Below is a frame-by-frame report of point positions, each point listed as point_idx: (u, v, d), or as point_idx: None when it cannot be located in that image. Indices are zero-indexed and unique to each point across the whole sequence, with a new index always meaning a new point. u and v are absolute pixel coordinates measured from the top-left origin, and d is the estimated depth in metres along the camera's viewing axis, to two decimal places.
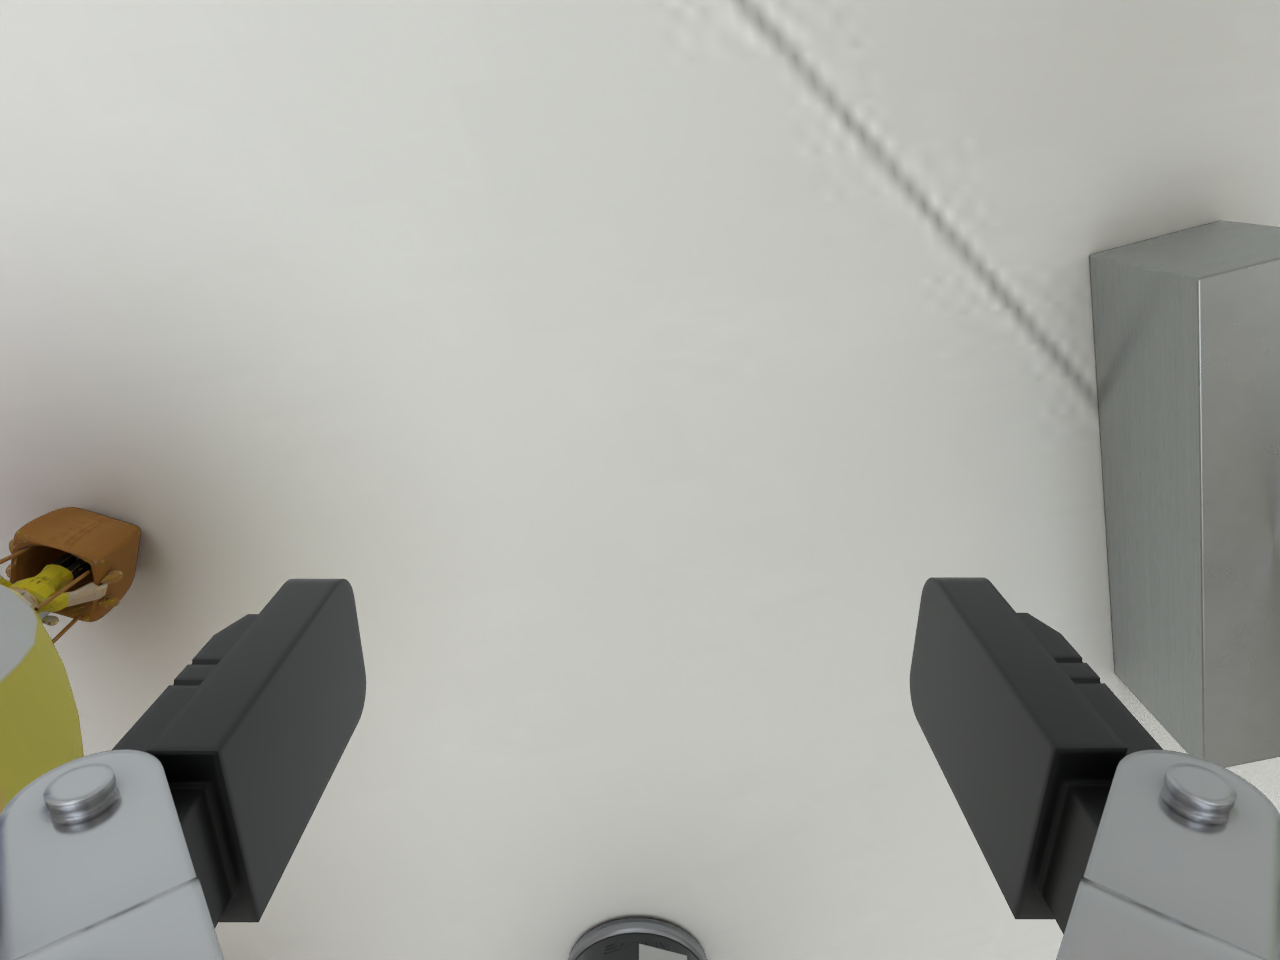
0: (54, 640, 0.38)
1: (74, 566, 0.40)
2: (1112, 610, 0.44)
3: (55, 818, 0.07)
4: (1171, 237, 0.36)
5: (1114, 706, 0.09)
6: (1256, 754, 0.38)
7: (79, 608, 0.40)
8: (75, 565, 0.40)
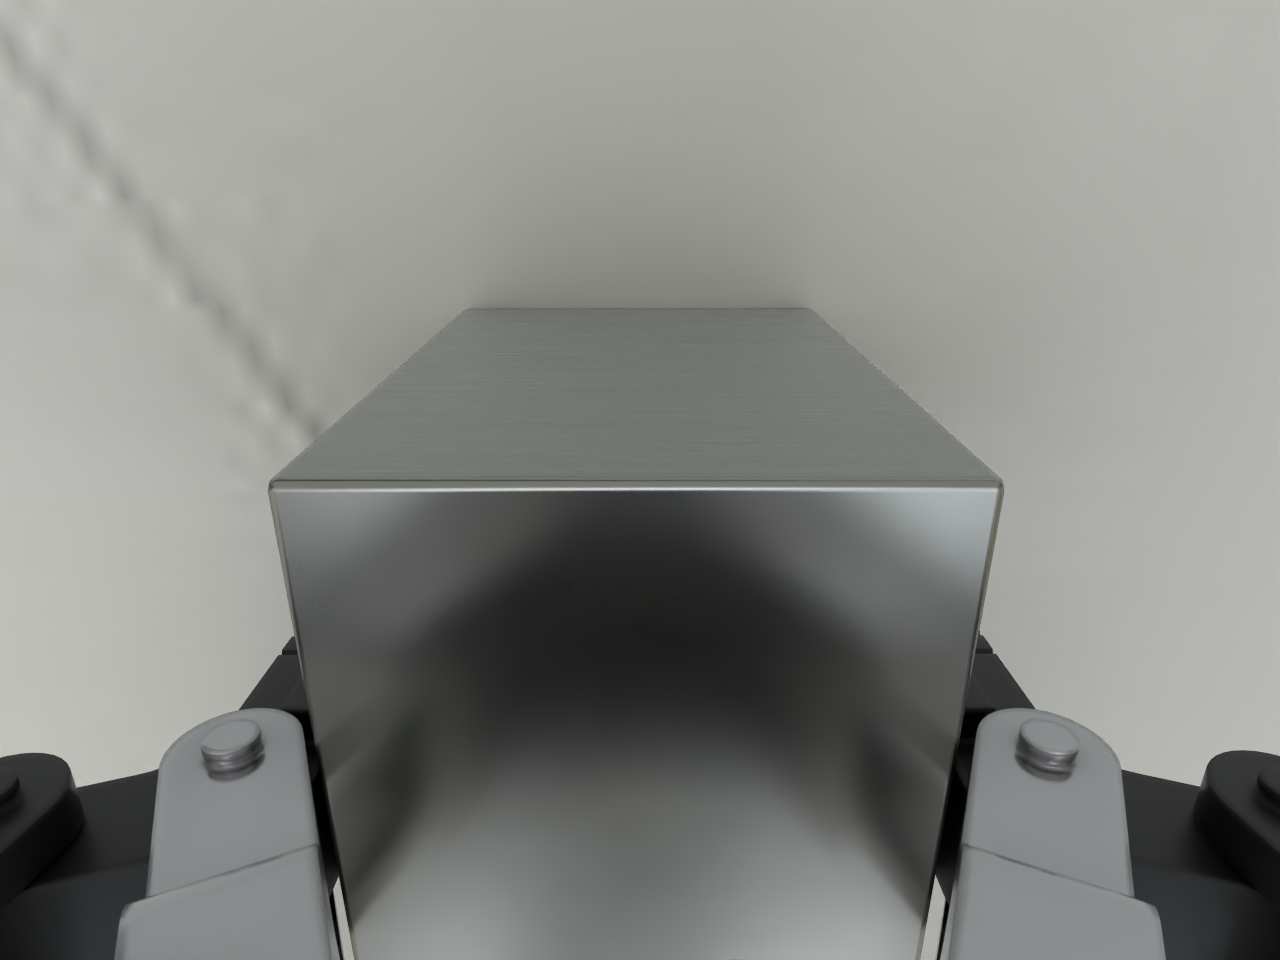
0: None
1: None
2: None
3: (212, 766, 0.07)
4: None
5: (1000, 674, 0.09)
6: (705, 535, 0.07)
7: None
8: None
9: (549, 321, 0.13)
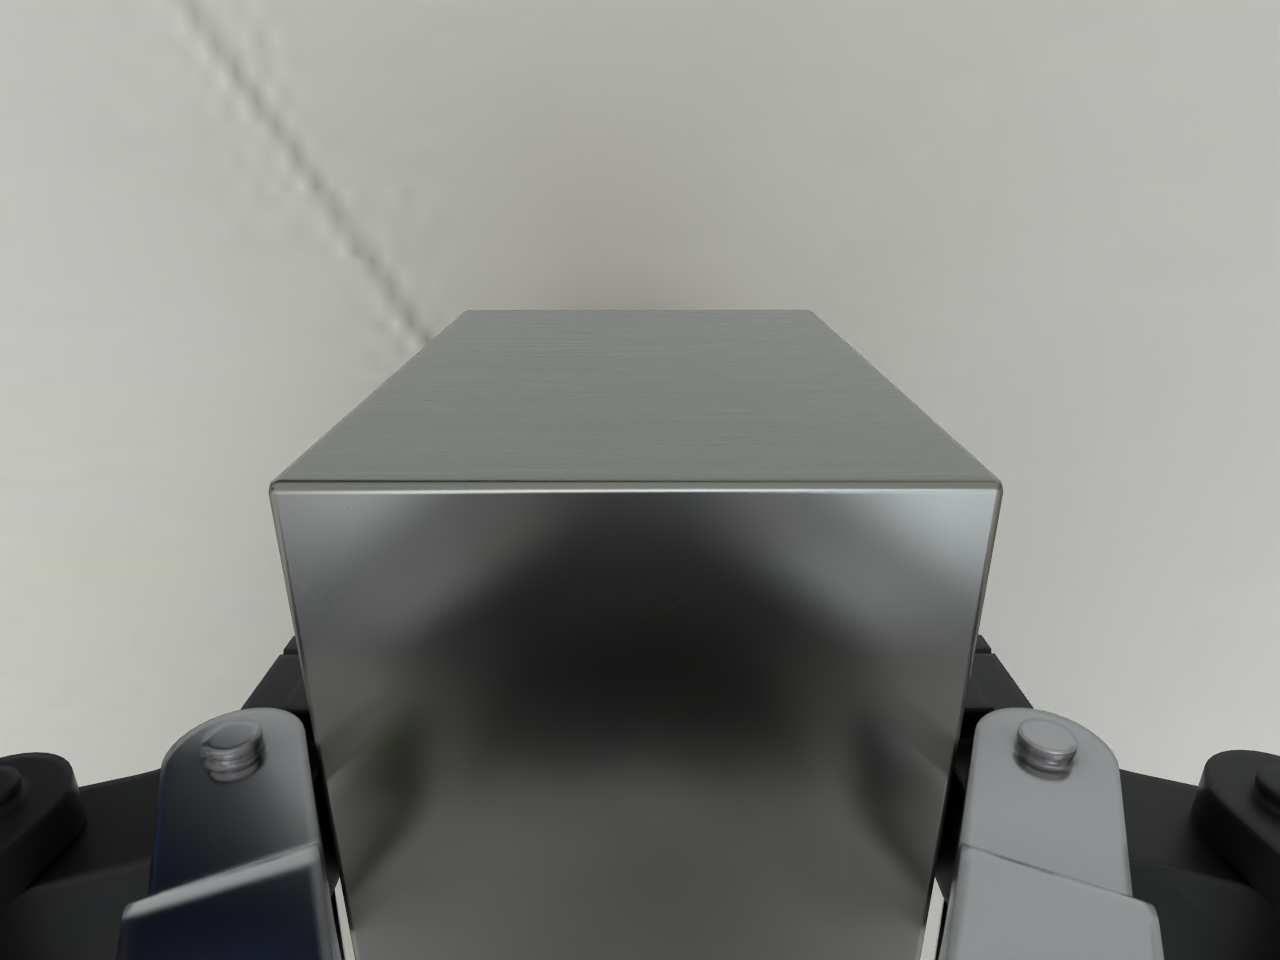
0: None
1: None
2: None
3: (214, 766, 0.07)
4: None
5: (998, 674, 0.09)
6: (703, 536, 0.07)
7: None
8: None
9: (549, 322, 0.13)
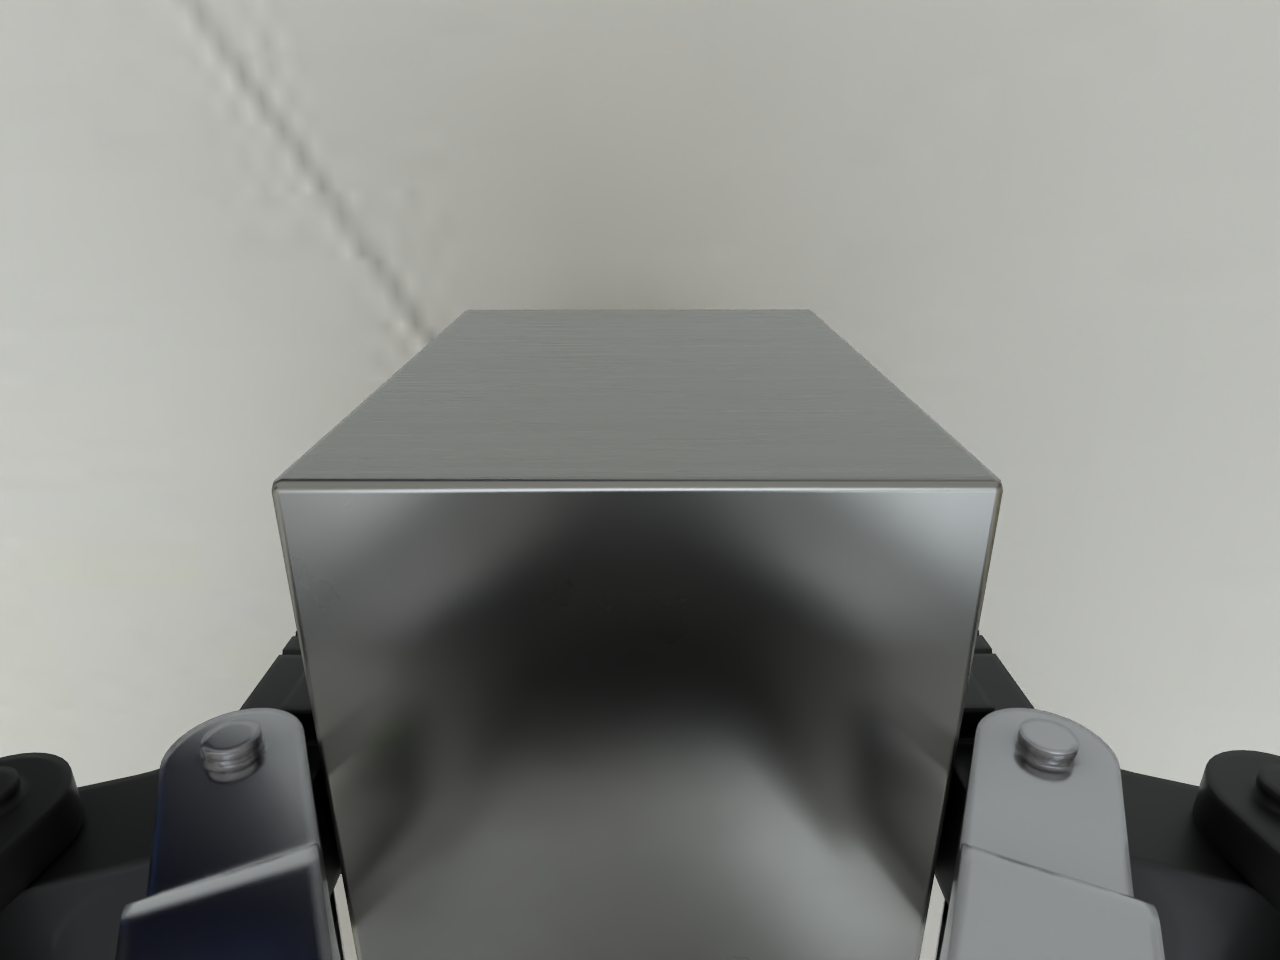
0: None
1: None
2: None
3: (213, 766, 0.07)
4: None
5: (999, 674, 0.09)
6: (705, 534, 0.07)
7: None
8: None
9: (550, 322, 0.13)
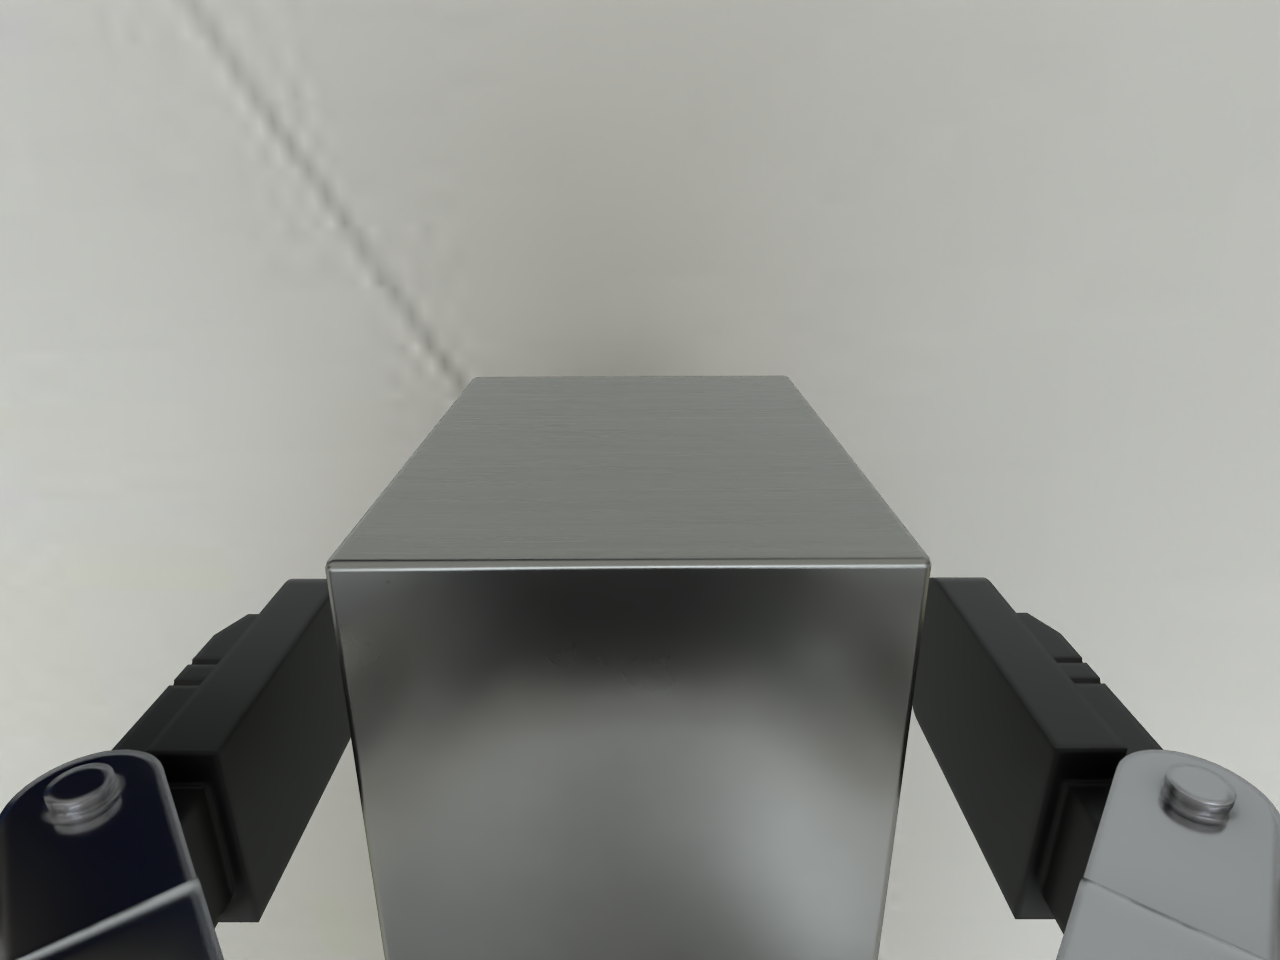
0: None
1: None
2: None
3: (55, 818, 0.07)
4: None
5: (1114, 706, 0.09)
6: (685, 603, 0.08)
7: None
8: None
9: (551, 391, 0.14)
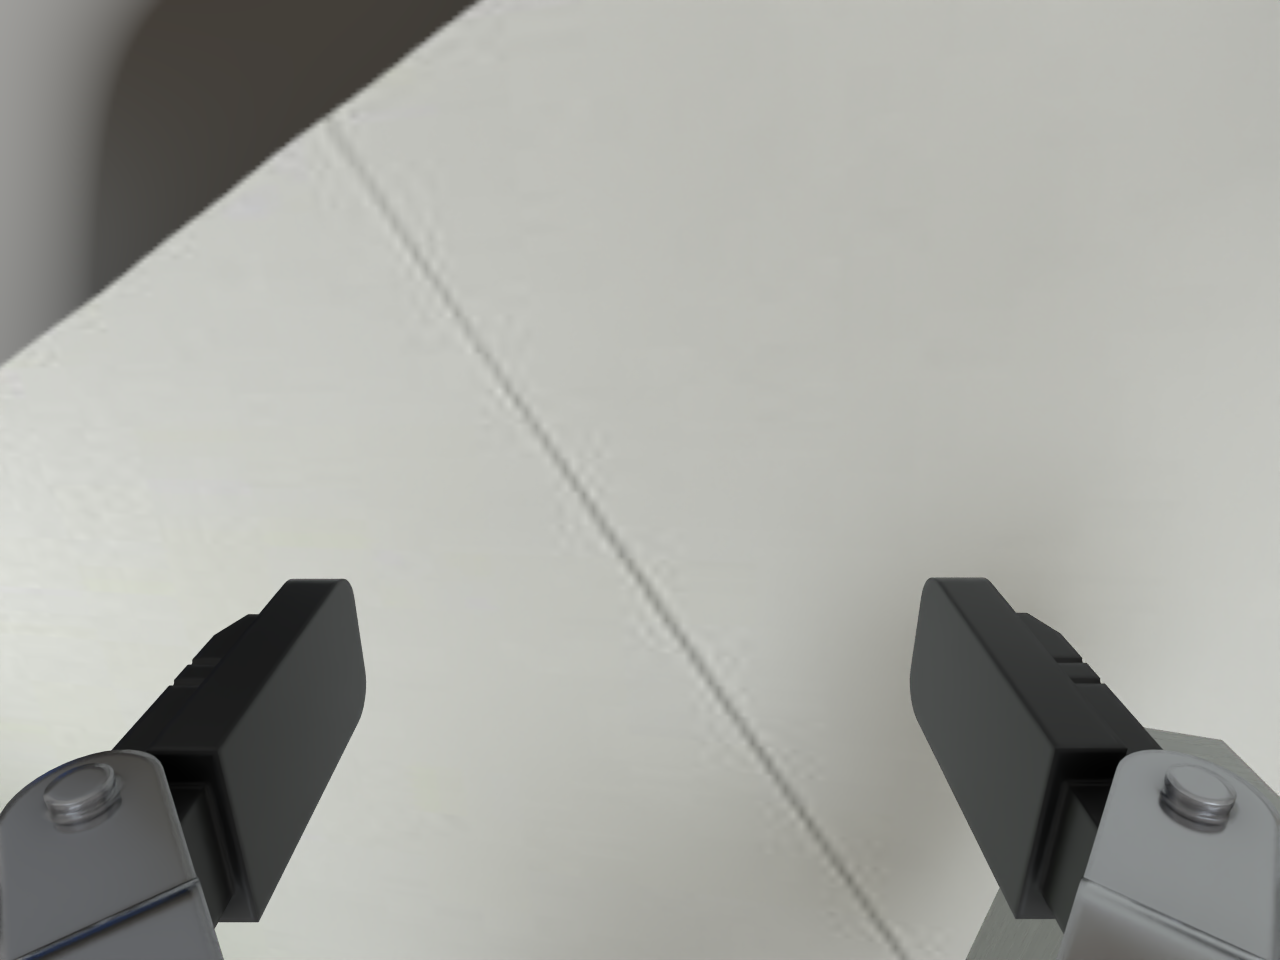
0: None
1: None
2: None
3: (55, 818, 0.07)
4: None
5: (1114, 706, 0.09)
6: None
7: None
8: None
9: None
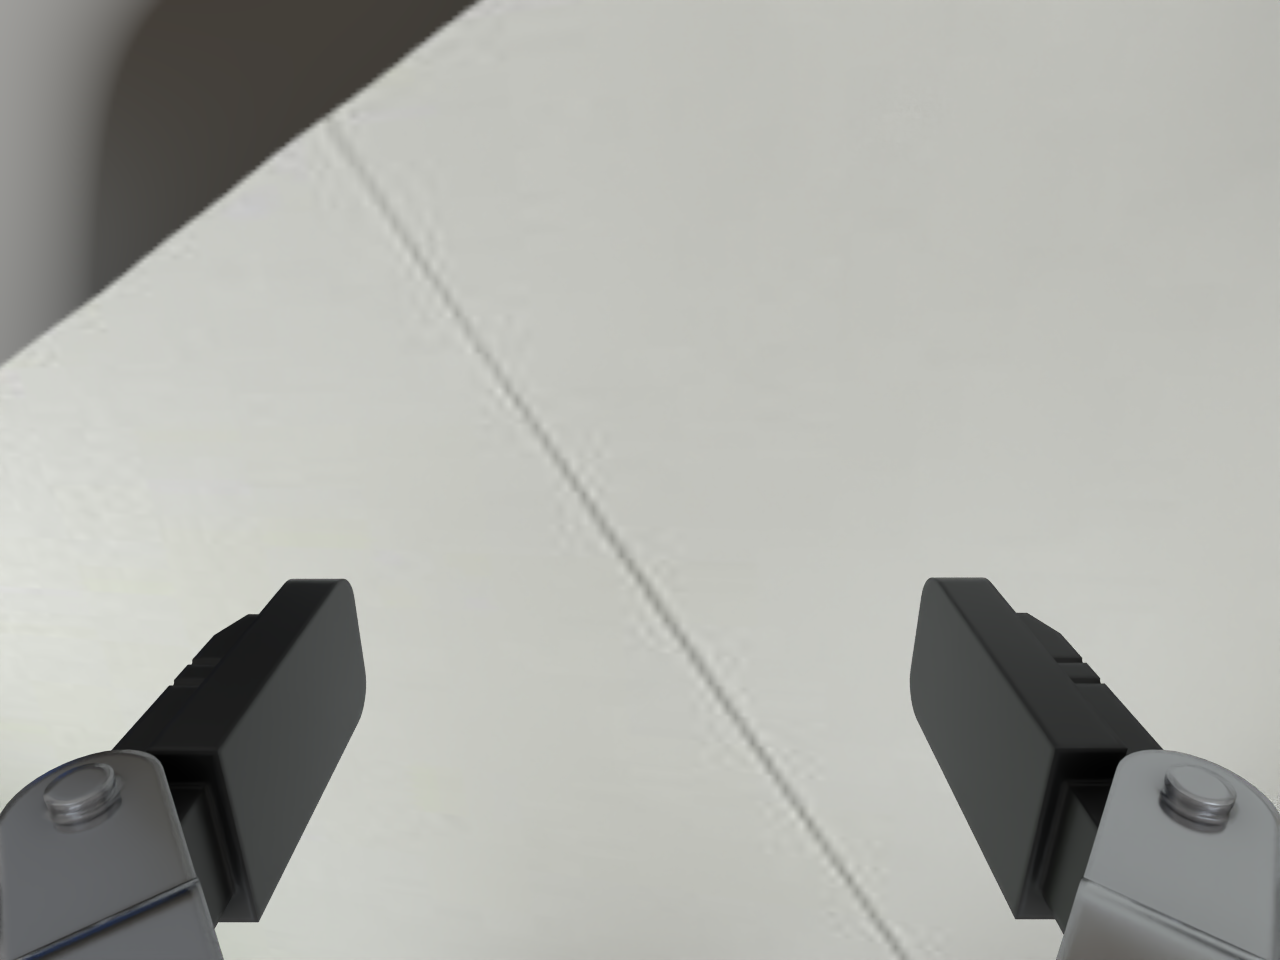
0: None
1: None
2: None
3: (55, 818, 0.07)
4: None
5: (1114, 706, 0.09)
6: None
7: None
8: None
9: None
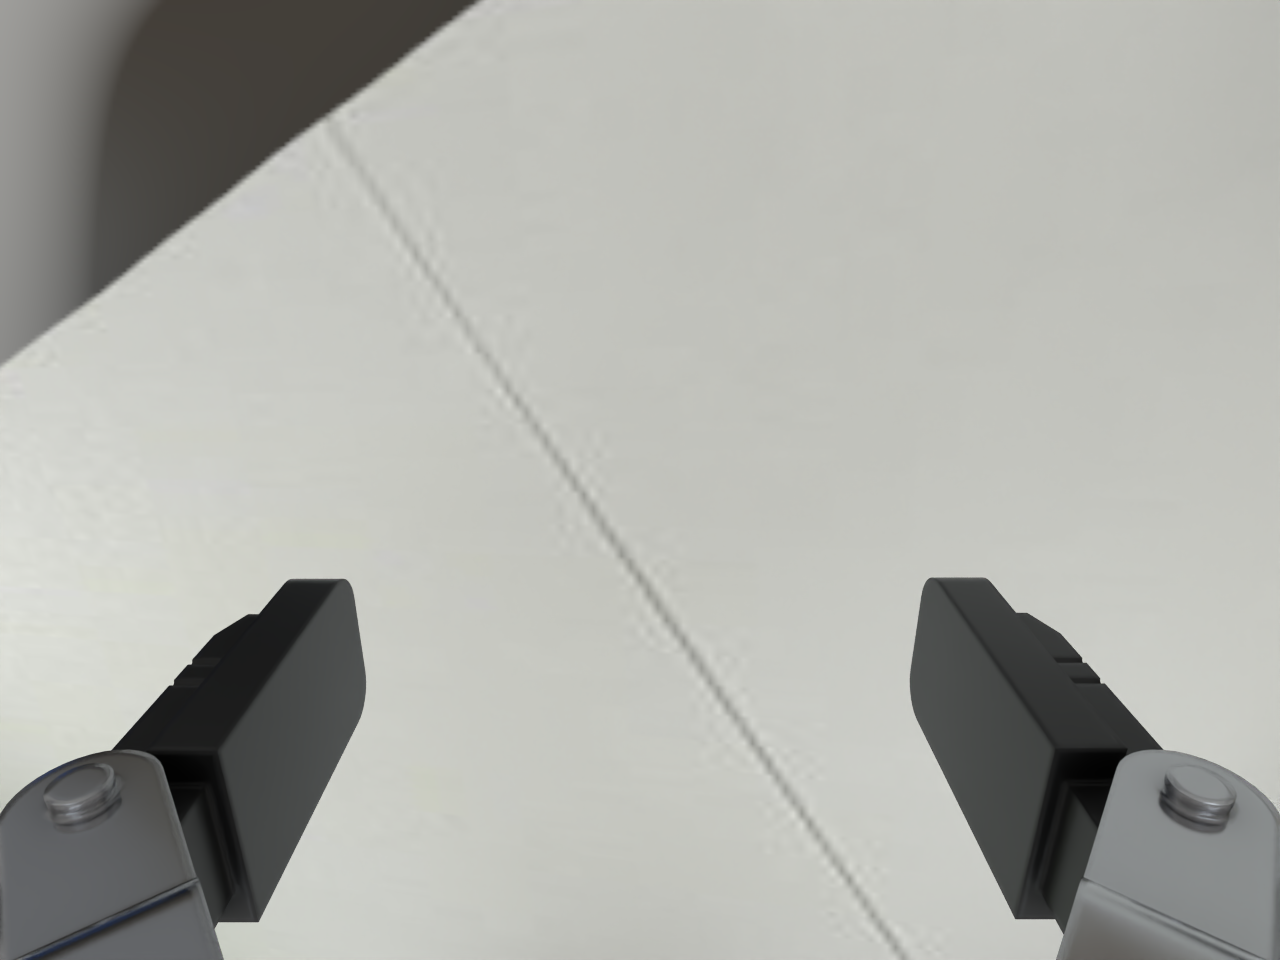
0: None
1: None
2: None
3: (55, 818, 0.07)
4: None
5: (1114, 706, 0.09)
6: None
7: None
8: None
9: None
